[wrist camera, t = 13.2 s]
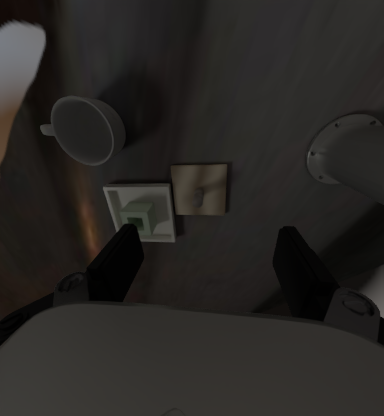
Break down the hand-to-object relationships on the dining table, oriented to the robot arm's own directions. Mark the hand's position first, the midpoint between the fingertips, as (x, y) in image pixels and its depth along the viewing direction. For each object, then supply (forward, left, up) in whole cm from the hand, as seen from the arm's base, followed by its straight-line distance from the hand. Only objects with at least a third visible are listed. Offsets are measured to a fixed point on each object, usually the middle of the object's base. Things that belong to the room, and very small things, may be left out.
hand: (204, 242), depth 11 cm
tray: (+17, +14, -28) cm, 35 cm away
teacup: (+23, -6, -28) cm, 37 cm away
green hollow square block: (+17, +14, -27) cm, 35 cm away
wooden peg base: (+2, +8, -28) cm, 29 cm away
